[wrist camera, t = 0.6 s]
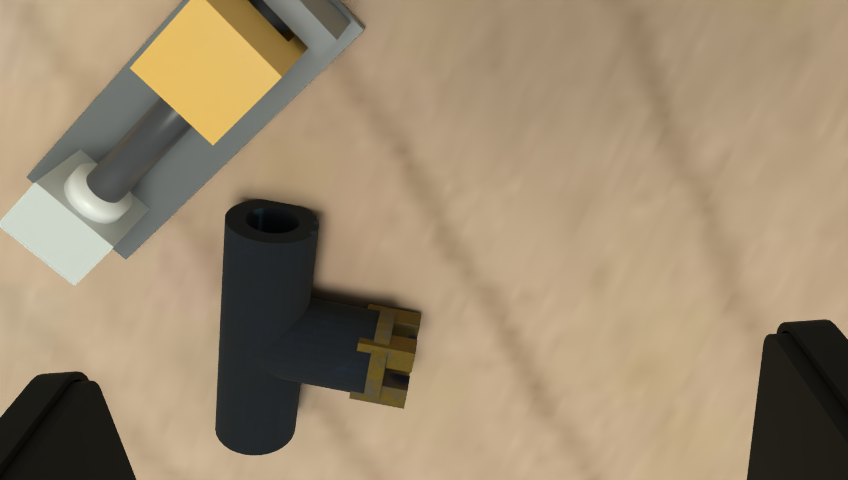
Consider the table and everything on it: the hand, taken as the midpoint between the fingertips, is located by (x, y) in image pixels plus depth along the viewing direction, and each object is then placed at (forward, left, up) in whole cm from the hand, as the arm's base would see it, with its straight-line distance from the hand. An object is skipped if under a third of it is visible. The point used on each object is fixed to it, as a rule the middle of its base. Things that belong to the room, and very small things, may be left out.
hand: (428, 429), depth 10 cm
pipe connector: (+18, +8, -29) cm, 35 cm away
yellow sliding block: (+8, -7, -28) cm, 29 cm away
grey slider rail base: (+14, -7, -29) cm, 33 cm away
